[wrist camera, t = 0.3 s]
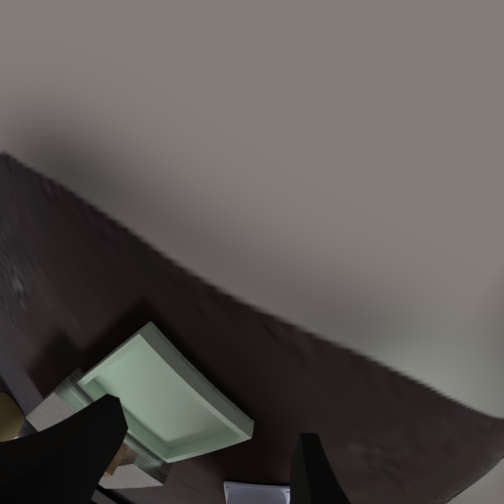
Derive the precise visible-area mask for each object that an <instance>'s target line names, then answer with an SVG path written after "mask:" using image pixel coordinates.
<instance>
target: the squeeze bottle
mask: <svg viewBox="0 0 504 504" xmlns="http://www.w3.org/2000/svg"><path fill="white" fill-rule="evenodd" d="M23 421H24V415H23V413H22V411H21V410H20V408H19V407H18V405H17V404H16V403H15V402H14V401H13V399H12V398H11V397H9V396H8V395H7V394H6V393H0V442H3V441H9V440H12V439H14V438H15V437H16V436H17V435H18V434H19V432H20V429H21V426H22V423H23Z"/></svg>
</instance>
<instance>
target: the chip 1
mask: <svg viewBox="0 0 504 504" xmlns="http://www.w3.org/2000/svg"><path fill="white" fill-rule="evenodd" d="M127 449H128V448H126V447H125V446H124V445H123V444H122V445H121V447H120V449H119V451H118V452H117V454H116V455H115V457H114V459H113V460H112V462H111V464H110V465H109V467H108V468H107V470H106V472H105V473H104V475H103V476H102V477H107V476H112V475H113V473H114V472H115V470H116V468H117V466H118V465H119V463H120V461H121V459H122V458H123V456H124V454H125V452H126V451H127Z"/></svg>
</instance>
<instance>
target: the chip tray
mask: <svg viewBox="0 0 504 504" xmlns="http://www.w3.org/2000/svg"><path fill="white" fill-rule="evenodd" d="M77 384H78V385H79V386H80V387H81V388H82V389H83V390H84V392H85V393H86V394H87V395H88V396H89V397H90V398H91V399H92V400H93V401H96V400H97V399H99V398H101V397H102V396H104V395H105V394H110V395H113V396H116V397H119V399H120V402H121V406H122V409H123V412H124V416H125V419H126V422H127V425H128V431H127V432H128V433H129V434H130V435H131V436H133V437H134V438H135V439H136V440H138V441H139V442H140V443H141V444H142V445H144V446H145V447H146V448H148V449H149V450H150V451H152V452H153V453H154V454H156V455H157V456H158V457H160V458H161V459H162V460H164V461H165V462H167V463H170V462H174V461H179V460H183V459H187V458H191V457H195V456H198V455H202V454H205V453H209V452H212V451H215V450H219V449H222V448H225V447H228V446H231V445H234V444H237V443H240V442H243V441H246V440H248V439H251V438H252V433H253V427H254V421H253V420H252V419H251V418H250V417H248V416H247V415H246V414H245V413H244V412H242V411H241V410H240V409H239V408H238V407H237V406H236V405H234V404H233V403H232V402H231V401H230V400H229V399H228V398H227V397H225V396H224V395H223V394H222V393H221V392H220V391H219V390H218V389H217V388H216V387H215V386H214V385H212V384H211V383H210V382H209V381H208V380H207V379H206V378H205V377H204V376H203V375H202V374H201V373H200V372H199V371H198V370H197V369H196V368H195V367H194V366H193V365H192V364H191V363H190V362H189V361H188V360H187V359H186V358H185V357H184V356H183V355H182V354H181V353H180V352H179V351H178V350H177V349H176V348H175V347H174V346H173V345H172V343H171V342H170V341H169V340H168V339H167V338H166V337H165V336H164V335H163V334H162V333H161V332H160V330H159V329H158V328H157V327H156V326H155V325H154V324H153V323H152V321H150V322H149V323H147V324H146V325H145V326H144V327H142V328H141V329H140V330H139V331H137V332H136V333H135V334H134V335H132V336H131V337H130V338H129V339H127V340H126V341H125V342H124V343H122V344H121V345H120V346H119V347H117V348H116V349H115V350H114V351H112V352H111V353H110V354H109V355H107V356H106V357H105V358H104V359H102V360H101V361H100V362H99V363H97V364H96V365H95V366H94V367H93V368H91V369H90V370H89V371H88V372H87V373H86V374H85V375H84V376H83V377H82V378H81V379H80V380H79V381H78V382H77Z"/></svg>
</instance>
